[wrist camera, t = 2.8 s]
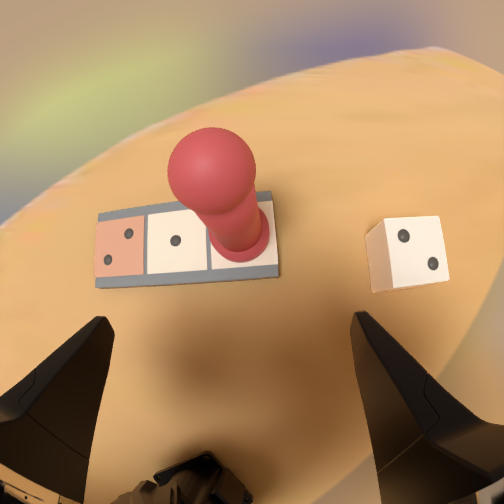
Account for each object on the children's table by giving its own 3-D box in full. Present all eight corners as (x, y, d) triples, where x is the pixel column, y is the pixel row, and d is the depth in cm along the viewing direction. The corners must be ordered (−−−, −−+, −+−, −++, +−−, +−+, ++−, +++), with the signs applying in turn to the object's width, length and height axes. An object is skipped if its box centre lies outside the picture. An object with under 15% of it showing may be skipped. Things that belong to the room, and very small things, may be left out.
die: (420, 286, 21) (449, 280, 16) (371, 292, 21) (393, 288, 17) (413, 232, 22) (439, 215, 17) (364, 235, 22) (384, 218, 17)
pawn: (233, 274, 21) (181, 228, 9) (202, 229, 22) (130, 146, 10) (281, 240, 21) (285, 156, 10) (247, 196, 22) (219, 88, 10)
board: (271, 195, 23) (271, 190, 22) (279, 277, 22) (279, 275, 21) (103, 217, 24) (97, 213, 23) (101, 288, 23) (94, 287, 22)
